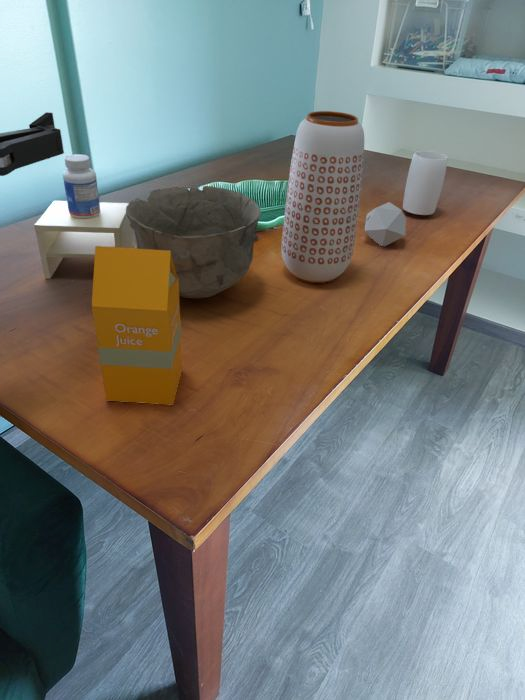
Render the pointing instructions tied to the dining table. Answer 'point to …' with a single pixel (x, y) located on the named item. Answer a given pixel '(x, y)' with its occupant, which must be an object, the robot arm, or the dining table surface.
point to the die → (385, 224)
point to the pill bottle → (81, 187)
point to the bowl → (198, 234)
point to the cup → (424, 182)
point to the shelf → (80, 233)
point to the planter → (323, 196)
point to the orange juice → (137, 324)
